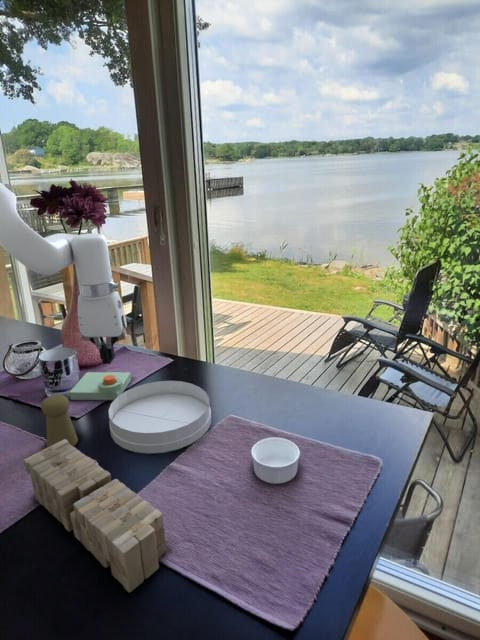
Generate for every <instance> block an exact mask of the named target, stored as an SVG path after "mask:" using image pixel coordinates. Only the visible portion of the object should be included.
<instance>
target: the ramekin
mask: <svg viewBox="0 0 480 640" xmlns="http://www.w3.org/2000/svg"><path fill="white" fill-rule="evenodd" d="M250 454H251V459H252V462H253V463H252V464H253V471H254V474H255V476H256V477H257V478H258V479H259V480H261V481H263V482H265V483H268V484H274V485H275V484H284V483H286V482H289V481H291V480H293V479H294V478H295V477H296V475H297V472H298V467H299V459H300V456H301V451H300V448H299V446H298V445H297V444H295V443H294V442H293V441H291V440H289V439H287V438H283V437H267V438H263V439H260V440H259V441H257V442H256V443H254V444H253V445H252V448H251V450H250Z"/></svg>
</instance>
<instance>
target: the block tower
mask: <svg viewBox="0 0 480 640" xmlns="http://www.w3.org/2000/svg"><path fill="white" fill-rule="evenodd" d="M23 463H24V464H23V465H24V467H25V471H26V472H27V473H28V475H30V479H31V484H32V488H33V493H34V497H35V499H36V501H37V502H38V503H39V504H40V505H41V506H43V507H44V508H45V509H46V510H47V511H48V512H49V514H52V516H53V517H54V518H56V520H57V521H58V522H60V523H61V524H62V525H63V526H64V529H65V530H66V531H67V532H68V533H69V532H71V531H73V535H74V538H75V539H76V540H78V541H79V542H80V543H81V544H82V545H83V546H84V548H85V549H86V550H87V551H88V552H90V553H91V555H93V556H94V558H96V560H97V561H98V562H99V563H100V565H101V566H102V567H103V568H108V567H110V571H111V575H112V577H114V579H116V580H117V581H118V583H120V584H121V585H122V586H123V588H124V589H125V590H126V592H128V593H132V592H133V591H134V590H135V589H137V588H138V587H139V586H140V585H141V584H142V583H143V582H144V581H145V580H147V579H148V578H149V577H150V576H152V575H153V574H154V573H156V571H157V570H159V568H160V564H159V558H160V557H161V556H162V555H164V554H165V553H166V552H167V545H166V544H167V543H166V536H165V535H166V533H165V528H164V516H163V513H162V511H160V510H158V509H156V508H155V507H154V506H153V505H151V504H150V502H148V500H146V499H144V498H143V497H141V496H140V495H138V494H137V493H136V492H135V491H133V490H131V488H129V487H128V486H126V484H124V483H123V482H121V481H120V480H119V479H118V478H114V479H113V480H112V475H111V473H110V471H108V470H105V468H102V466H100V465H99V464H98V463H96V462H95V461H94V460H93V459H91V458H90V457H89V456H87V455H85V454H84V453H82V452H81V451H80V450H79V449H78V448H76V447H75V446H71V445H70V444H69V442H68V441H67V440H66V439H64V440H62V441H60V442H58V443H56V444H54V445H52V446H50V447H46V448H44V449H42V450H40V451H39V452H35V453H34V454H33V455H30V456H28V457H27V458H24V459H23Z"/></svg>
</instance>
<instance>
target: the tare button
mask: <svg viewBox="0 0 480 640" xmlns="http://www.w3.org/2000/svg"><path fill="white" fill-rule="evenodd" d="M103 380H104V385H113V384H115V383H116V380H115V376H114V375H108V376H105V377H104V378H103Z"/></svg>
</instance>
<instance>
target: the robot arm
mask: <svg viewBox="0 0 480 640" xmlns="http://www.w3.org/2000/svg"><path fill="white" fill-rule="evenodd" d="M17 202H18V200H17V196H16V194H15V193H14V192H13V191H12V190H10V189H9V188H8V187H6V186H5V185H4V184H3V183H1V182H0V246H1V247H2V249H3V250H4V251H5V252H6V253H8V255H10V256H11V257H12V258H14V259H15V261H17V262H19V263H20V264H22V265H23V266H24V267H25V268H27V269H29V270H31V271H32V272H34V273H36V274H39V275H42V276H52V275H55V274H57V273H59V272H61V271H62V270H63V269H65V268H68V267H70V266H73V265H74V267H75V274H76V278H77V284H78V290H79V295H78V296H77V321H78V328H79V332H80V335H81V340H82V341H86V342H91V343H92V344H93V345H94V346H95V347H96V349H97V350H98V352H99V357H100V360H101V361H102V365H106V364H107V365H110V364H111V363H112V362H113V361H114V359H115V357H116V354H115V348H114V345H115V344H116V343H117V342H119V341H120V342H121V341H123V340H126V338H127V337H128V334H127V332H126V330H127V327H128V325H127V323H128V322H127V318H126V313H125V310H124V306H123V305H124V304H123V301H122V299H121V296H120V294H119V291H116V290H120V287H121V286H120V283H116V282H115V279H113V273H112V266H111V259H110V252H109V245H108V240H107V237H106V236H105V235H104V234H102V233H83V234H74V233H73V234H72V233H64V232H62V233H61V232H59V233H54V234H50V235H47V236H45V237H43V236H42V235H40V234H39V233H38V232H37V231H36V230H34V229H32V228H31V226H29V225H28V224H27V222H25V221H24V220H23V219H22V217H21V216H20V215H19V212H18V210H17Z"/></svg>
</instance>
